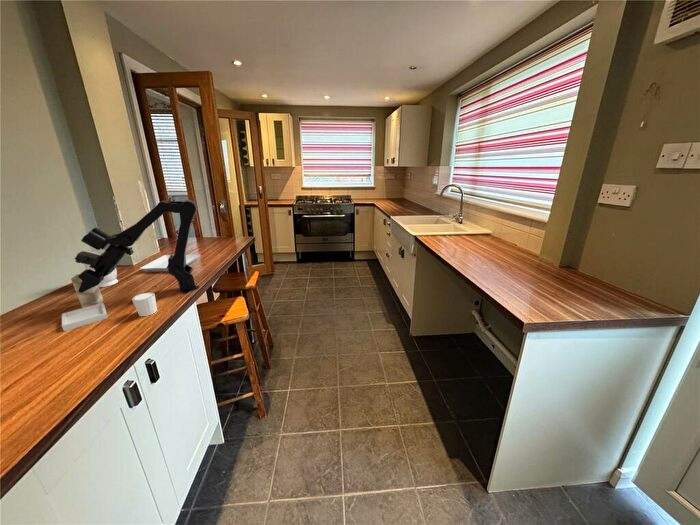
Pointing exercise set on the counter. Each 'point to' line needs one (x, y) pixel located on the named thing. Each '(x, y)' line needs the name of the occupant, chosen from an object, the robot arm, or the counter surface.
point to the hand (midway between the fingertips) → (85, 287)
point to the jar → (108, 279)
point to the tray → (83, 316)
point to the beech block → (87, 293)
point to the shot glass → (145, 303)
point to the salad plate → (166, 263)
